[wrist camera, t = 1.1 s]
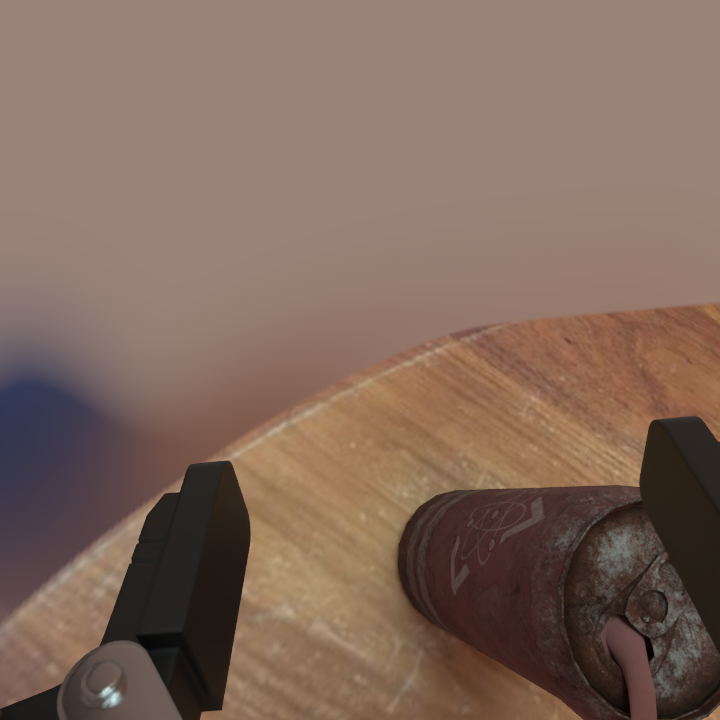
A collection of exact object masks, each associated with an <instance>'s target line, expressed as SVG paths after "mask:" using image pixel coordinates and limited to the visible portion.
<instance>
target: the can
mask: <svg viewBox="0 0 720 720" xmlns="http://www.w3.org/2000/svg"><path fill="white" fill-rule="evenodd" d="M398 568H399V573H400V577H401V581H402V585H403V589H404V590H405V592H406V594H407V596H408V597H409V599H410V601H411V602H412V604H413V606H414V608H416V609H417V610H418V611H419V612H420V613H421V614H422V615H423V616H425V617H426V618H427V619H428V620H429V621H430V622H432V623H433V624H435V625H437V626H438V627H440V628H442V629H443V630H445V631H447V632H448V633H450V634H452V635H453V636H455V637H457V638H459V639H460V640H462V641H464V642H465V643H467V644H469V645H470V646H472V647H474V648H475V649H477V650H479V651H480V652H482V653H484V654H485V655H487V656H489V657H490V658H492V659H494V660H495V661H497V662H499V663H501V664H502V665H504V666H506V667H507V668H509V669H511V670H512V671H514V672H516V673H517V674H519V675H521V676H522V677H524V678H526V679H527V680H529V681H531V682H532V683H534V684H536V685H537V686H539V687H541V688H543V689H544V690H546V691H548V692H549V693H551V694H553V695H554V696H556V697H558V698H559V699H561V700H562V701H563V702H564V703H565V704H566V705H567V706H568V707H570V708H571V709H572V710H573V711H574V712H575V713H576V714H578V715H579V716H580V717H581V718H582V719H583V720H700V719H703V718H705V717H708V716H709V715H710V714H711V713H712V712H713V711H714V710H715V709H716V708H717V707H718V706H719V705H720V655H719V653H718V651H717V649H716V647H715V645H714V643H713V641H712V639H711V637H710V635H709V633H708V631H707V629H706V627H705V625H704V624H703V622H702V620H701V618H700V616H699V614H698V612H697V610H696V608H695V606H694V604H693V602H692V600H691V598H690V596H689V594H688V592H687V590H686V589H685V587H684V585H683V583H682V581H681V579H680V577H679V575H678V573H677V571H676V569H675V567H674V565H673V563H672V561H671V559H670V557H669V555H668V553H667V552H666V550H665V548H664V546H663V544H662V542H661V540H660V538H659V536H658V534H657V532H656V530H655V528H654V526H653V524H652V522H651V520H650V518H649V517H648V515H647V513H646V510H645V508H644V505H643V502H642V499H641V494H640V487H632V486H621V485H610V486H580V487H549V488H518V489H488V490H457V491H452V492H448V493H444V494H440V495H436V496H435V497H433V498H432V499H430V500H429V501H427V502H426V503H424V504H423V505H421V506H420V507H419V508H418V510H417V511H416V512H415V513H414V515H413V516H412V517H411V519H410V520H409V521H408V522H407V524H406V527H405V530H404V532H403V535H402V538H401V541H400V543H399V558H398Z"/></svg>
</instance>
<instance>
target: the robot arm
mask: <svg viewBox="0 0 720 720" xmlns="http://www.w3.org/2000/svg"><path fill="white" fill-rule="evenodd" d="M639 484H640V494H641V499H642V502H643V505H644V508H645V510H646V513H647V515H648V517H649V518H650V520H651V522H652V524H653V526H654V528H655V530H656V532H657V534H658V536H659V538H660V540H661V542H662V544H663V546H664V548H665V550H666V552H667V553H668V555H669V557H670V559H671V561H672V563H673V565H674V567H675V569H676V571H677V573H678V575H679V577H680V579H681V581H682V583H683V585H684V587H685V589H686V590H687V592H688V594H689V596H690V598H691V600H692V602H693V604H694V606H695V608H696V610H697V612H698V614H699V616H700V618H701V620H702V622H703V624H704V625H705V627H706V629H707V631H708V633H709V635H710V637H711V639H712V641H713V643H714V645H715V647H716V649H717V651H718V653H719V655H720V442H718V441H717V440H716V438H715V437H714V436H713V434H712V433H711V431H710V430H709V429H708V427H707V426H706V425H705V423H704V422H703V421H702V420H701V419H700V418H699V417H697V416H689V417H679V418H669V419H659V420H653V421H652V422H651V424H650V426H649V430H648V435H647V441H646V446H645V452H644V457H643V462H642V468H641V473H640V482H639ZM250 535H251V534H250V520H249V515H248V511H247V508H246V505H245V502H244V499H243V496H242V493H241V490H240V487H239V484H238V480H237V477H236V474H235V471H234V468H233V466H232V464H231V462H230V461H218V462H208V463H198V464H191V465H190V466H189V467H188V469H187V471H186V474H185V478H184V481H183V484H182V487H181V490H180V492H177V493H167V494H164V495H163V497H162V498H161V499H160V500H159V501H158V503H157V504H156V505H155V506H154V507H153V509H152V510H151V511H150V512H149V514H148V515H147V517H146V520H145V522H144V525H143V528H142V531H141V533H140V536H139V544H137V545H136V547H135V550H134V553H133V556H132V563H131V564H129V567H128V570H127V573H126V575H125V578H124V581H123V584H122V587H121V589H120V592H119V595H118V598H117V600H116V603H115V606H114V609H113V612H112V614H111V617H110V620H109V623H108V626H107V628H106V631H105V634H104V637H103V639H102V641H101V644H100V645H99V647H97V648H95V649H94V650H92V651H90V652H89V653H88V654H86V655H85V656H83V657H82V658H81V659H80V660H79V661H78V662H77V663H76V664H75V665H74V666H73V668H72V669H71V670H70V671H69V673H68V674H67V676H66V677H65V679H64V681H63V683H61V684H60V685H58V686H56V687H54V688H52V689H49V690H47V691H45V692H42V693H39V694H37V695H34V696H32V697H29V698H27V699H24V700H22V701H19V702H17V703H14V704H12V705H9V706H7V707H4V708H2V709H0V720H200V716H201V712H203V711H217V710H222V706H223V700H224V694H225V688H226V682H227V676H228V670H229V665H230V659H231V653H232V647H233V641H234V635H235V629H236V623H237V618H238V612H239V606H240V600H241V594H242V588H243V582H244V576H245V571H246V565H247V559H248V553H249V547H250Z"/></svg>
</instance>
